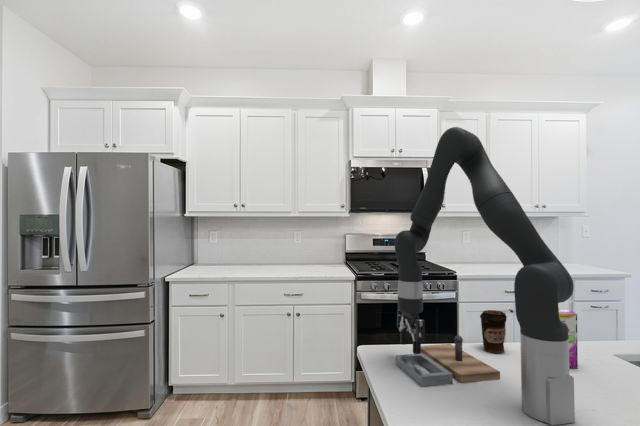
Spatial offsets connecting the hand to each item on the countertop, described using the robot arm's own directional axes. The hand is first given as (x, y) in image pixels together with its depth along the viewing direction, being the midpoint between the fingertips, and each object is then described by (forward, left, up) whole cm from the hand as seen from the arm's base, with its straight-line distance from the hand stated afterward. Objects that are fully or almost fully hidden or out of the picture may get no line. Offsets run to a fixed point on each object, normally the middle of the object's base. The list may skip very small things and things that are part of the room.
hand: (410, 348), depth 109 cm
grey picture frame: (-8, 0, -4) cm, 9 cm away
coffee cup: (+4, -33, -5) cm, 34 cm away
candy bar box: (-11, -42, -5) cm, 43 cm away
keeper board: (-4, -13, -4) cm, 14 cm away
